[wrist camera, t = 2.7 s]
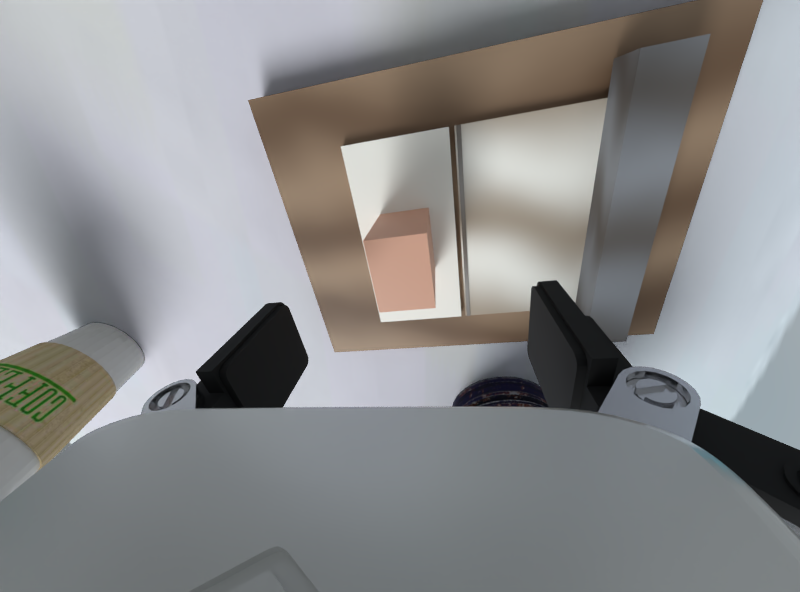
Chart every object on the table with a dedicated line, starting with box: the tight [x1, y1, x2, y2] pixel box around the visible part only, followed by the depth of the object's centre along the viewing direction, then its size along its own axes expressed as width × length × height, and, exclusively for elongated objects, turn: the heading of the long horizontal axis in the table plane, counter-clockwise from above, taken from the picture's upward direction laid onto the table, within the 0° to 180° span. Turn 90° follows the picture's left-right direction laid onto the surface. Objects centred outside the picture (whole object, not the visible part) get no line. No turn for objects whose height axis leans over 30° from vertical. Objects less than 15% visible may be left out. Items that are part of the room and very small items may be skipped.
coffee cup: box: [0, 323, 144, 502], centre depth 23 cm, size 10×10×15 cm
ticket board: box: [248, 0, 763, 352], centre depth 18 cm, size 18×24×4 cm
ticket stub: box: [341, 127, 461, 322], centre depth 17 cm, size 12×6×5 cm, turn 9°
